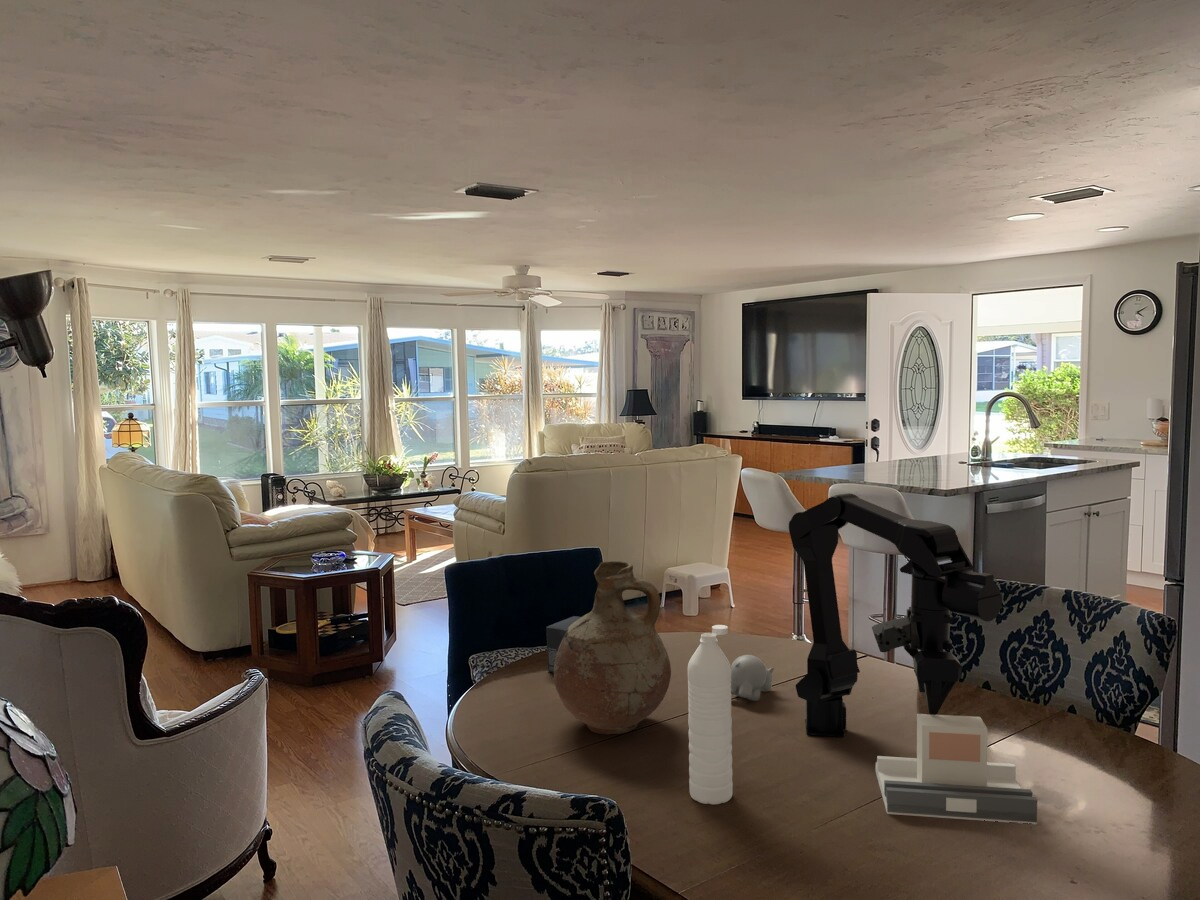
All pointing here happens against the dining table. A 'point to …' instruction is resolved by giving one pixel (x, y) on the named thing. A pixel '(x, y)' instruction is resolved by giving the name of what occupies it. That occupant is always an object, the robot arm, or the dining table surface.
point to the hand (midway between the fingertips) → (927, 702)
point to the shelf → (955, 794)
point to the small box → (556, 639)
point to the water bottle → (710, 721)
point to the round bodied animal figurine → (750, 677)
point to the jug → (613, 657)
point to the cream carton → (951, 750)
